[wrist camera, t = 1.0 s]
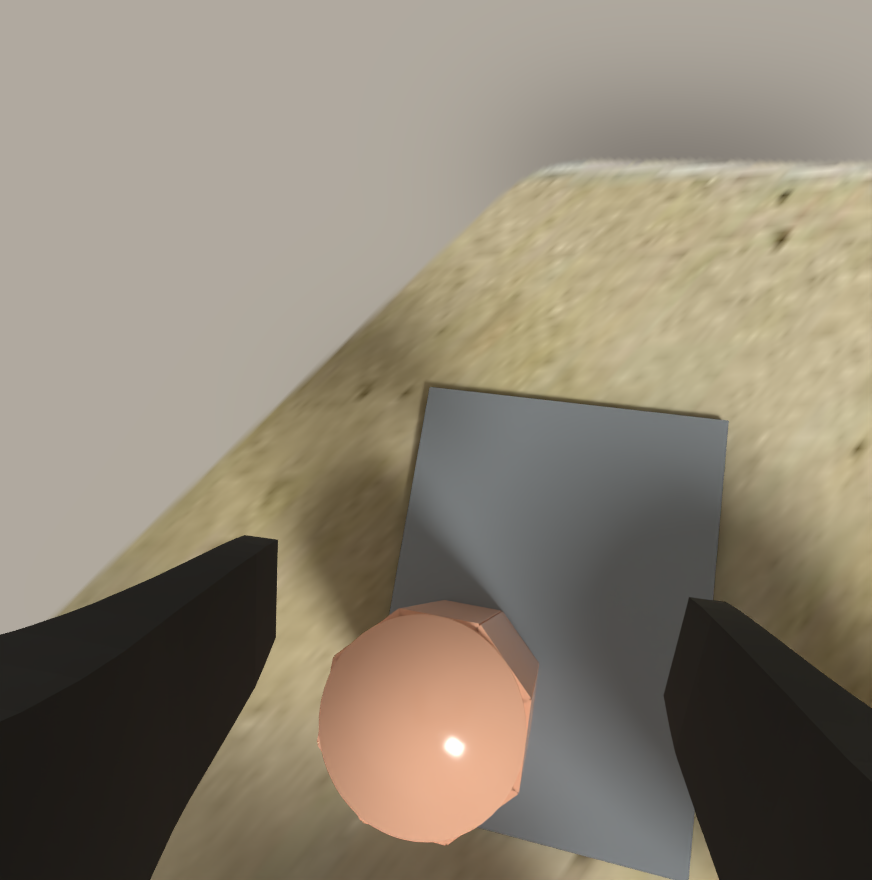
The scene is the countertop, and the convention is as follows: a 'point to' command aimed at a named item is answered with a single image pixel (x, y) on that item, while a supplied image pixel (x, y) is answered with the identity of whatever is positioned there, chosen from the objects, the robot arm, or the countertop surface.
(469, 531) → the mat
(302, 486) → the countertop surface
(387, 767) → the salmon pink faceted cylinder
